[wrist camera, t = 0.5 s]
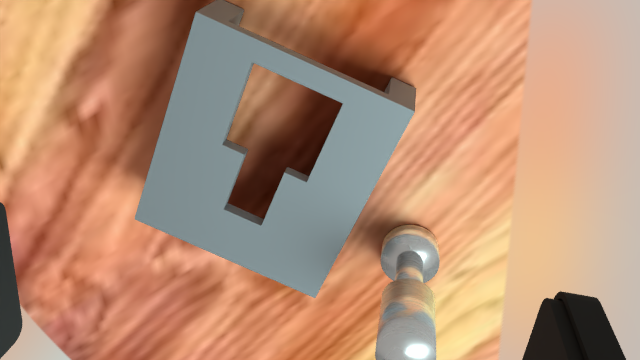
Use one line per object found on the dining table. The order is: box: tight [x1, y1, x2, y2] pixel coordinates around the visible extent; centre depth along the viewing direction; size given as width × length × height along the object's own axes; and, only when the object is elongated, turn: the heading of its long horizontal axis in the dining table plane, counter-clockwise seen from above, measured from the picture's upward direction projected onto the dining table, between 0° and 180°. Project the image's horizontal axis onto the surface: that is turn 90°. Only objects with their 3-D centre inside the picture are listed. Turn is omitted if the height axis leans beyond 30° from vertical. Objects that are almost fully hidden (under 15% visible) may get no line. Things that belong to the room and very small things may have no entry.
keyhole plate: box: [135, 0, 416, 298], centre depth 46 cm, size 18×16×5 cm
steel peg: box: [375, 225, 439, 360], centre depth 45 cm, size 5×5×13 cm
